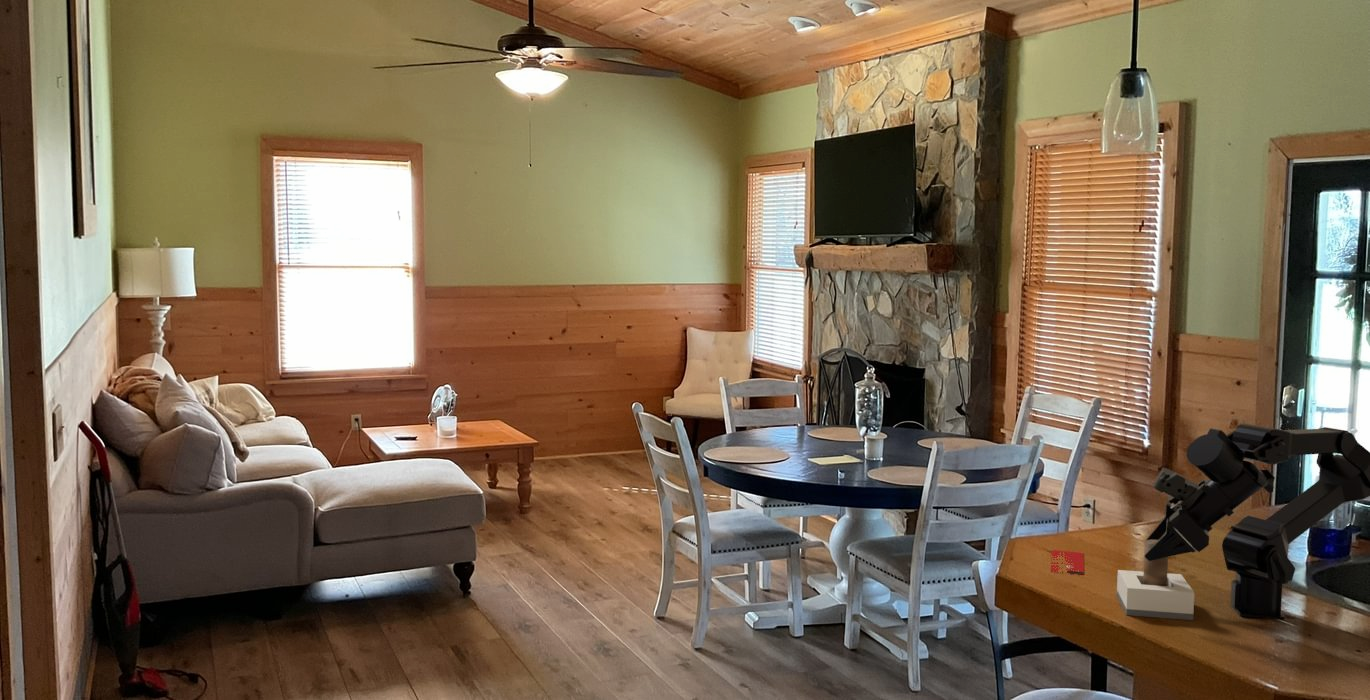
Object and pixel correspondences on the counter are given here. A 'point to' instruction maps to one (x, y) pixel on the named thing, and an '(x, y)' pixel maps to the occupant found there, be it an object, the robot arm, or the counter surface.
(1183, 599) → the bore block
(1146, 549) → the walnut pin
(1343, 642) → the counter surface
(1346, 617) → the counter surface
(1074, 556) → the electronic device
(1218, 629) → the counter surface
